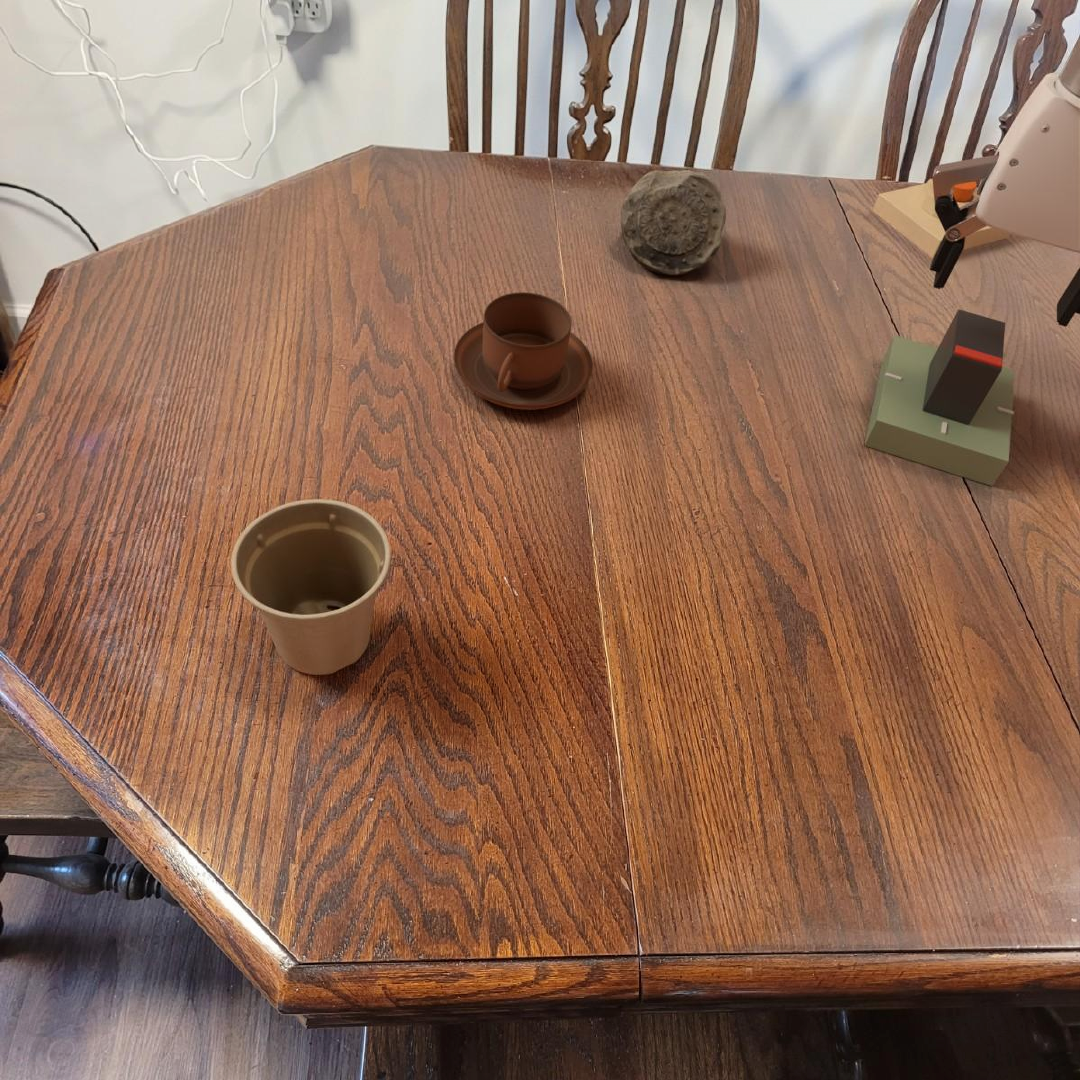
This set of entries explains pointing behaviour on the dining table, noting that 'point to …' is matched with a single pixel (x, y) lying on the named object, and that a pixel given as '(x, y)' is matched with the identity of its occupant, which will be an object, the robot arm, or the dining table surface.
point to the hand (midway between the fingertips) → (999, 297)
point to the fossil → (673, 221)
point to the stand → (938, 418)
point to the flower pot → (313, 580)
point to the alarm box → (925, 218)
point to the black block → (964, 367)
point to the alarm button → (964, 191)
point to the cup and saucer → (523, 354)
